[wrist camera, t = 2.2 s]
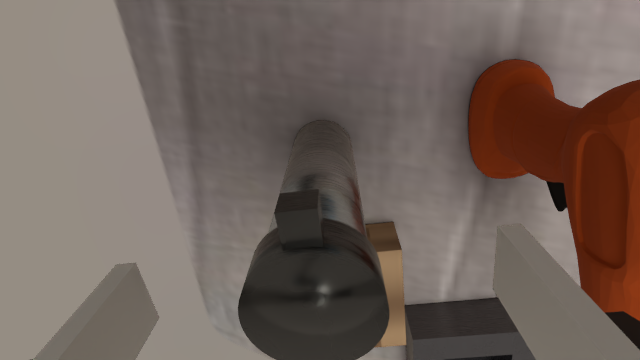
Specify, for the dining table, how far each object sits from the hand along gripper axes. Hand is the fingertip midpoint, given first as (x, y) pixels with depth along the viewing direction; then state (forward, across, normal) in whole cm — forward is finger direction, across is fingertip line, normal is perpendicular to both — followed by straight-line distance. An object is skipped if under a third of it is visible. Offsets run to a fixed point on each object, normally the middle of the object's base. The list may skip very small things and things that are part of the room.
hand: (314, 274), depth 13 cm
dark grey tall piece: (+13, 0, 0) cm, 13 cm away
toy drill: (+13, +13, -4) cm, 18 cm away
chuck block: (+13, +10, -20) cm, 25 cm away
